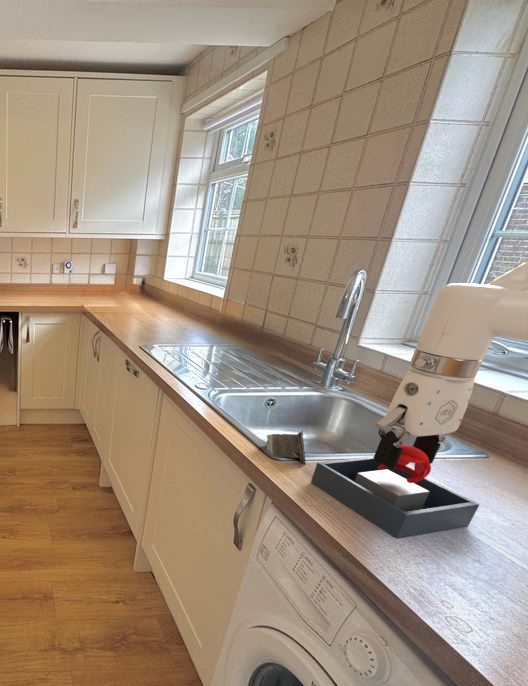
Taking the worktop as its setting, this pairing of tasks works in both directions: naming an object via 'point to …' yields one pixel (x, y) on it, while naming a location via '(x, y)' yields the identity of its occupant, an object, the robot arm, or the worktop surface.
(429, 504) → the dark grey tray
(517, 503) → the worktop surface
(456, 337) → the robot arm
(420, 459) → the red curved piece
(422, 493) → the block
